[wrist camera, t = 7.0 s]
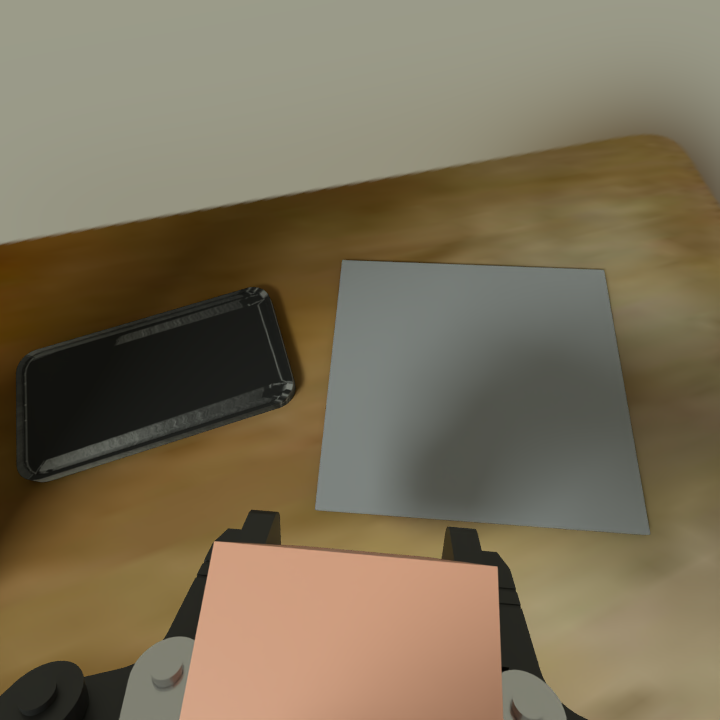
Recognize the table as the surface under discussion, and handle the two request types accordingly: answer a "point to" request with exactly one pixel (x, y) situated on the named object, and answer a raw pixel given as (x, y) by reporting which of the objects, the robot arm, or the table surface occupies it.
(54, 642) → the table surface
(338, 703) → the block
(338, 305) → the mat
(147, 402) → the phone
